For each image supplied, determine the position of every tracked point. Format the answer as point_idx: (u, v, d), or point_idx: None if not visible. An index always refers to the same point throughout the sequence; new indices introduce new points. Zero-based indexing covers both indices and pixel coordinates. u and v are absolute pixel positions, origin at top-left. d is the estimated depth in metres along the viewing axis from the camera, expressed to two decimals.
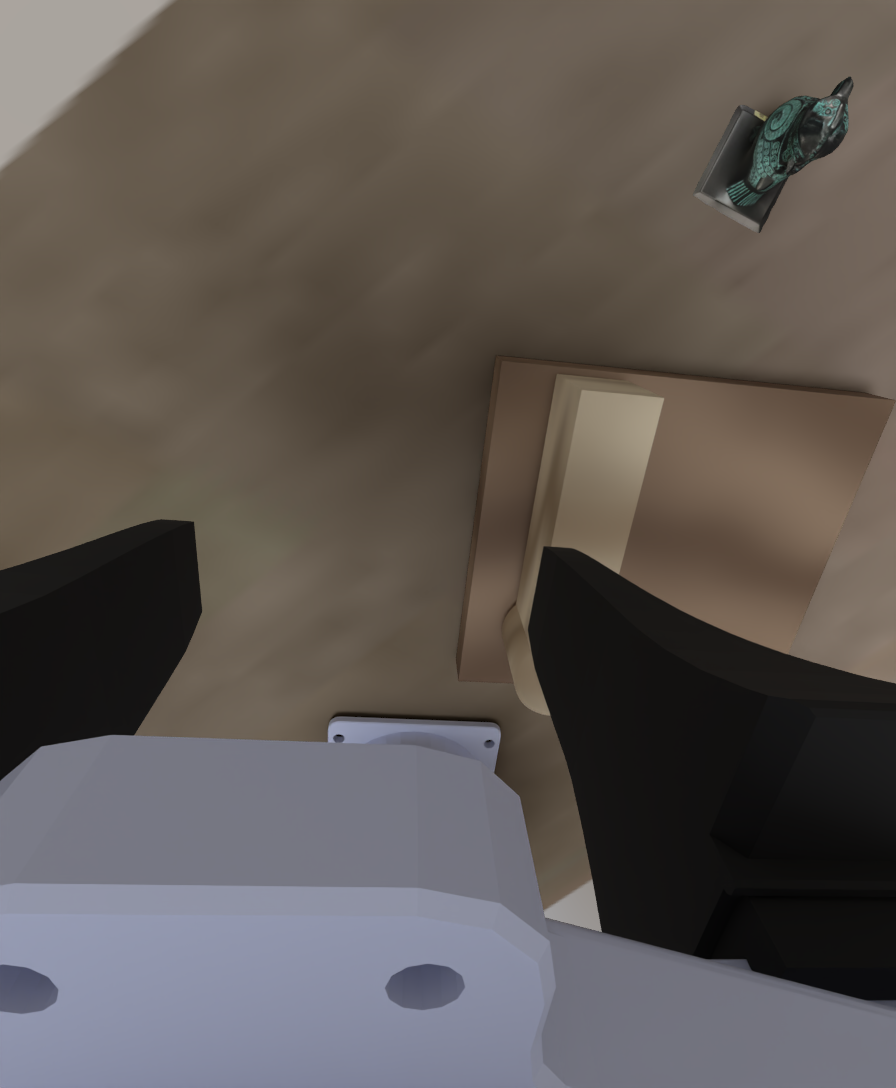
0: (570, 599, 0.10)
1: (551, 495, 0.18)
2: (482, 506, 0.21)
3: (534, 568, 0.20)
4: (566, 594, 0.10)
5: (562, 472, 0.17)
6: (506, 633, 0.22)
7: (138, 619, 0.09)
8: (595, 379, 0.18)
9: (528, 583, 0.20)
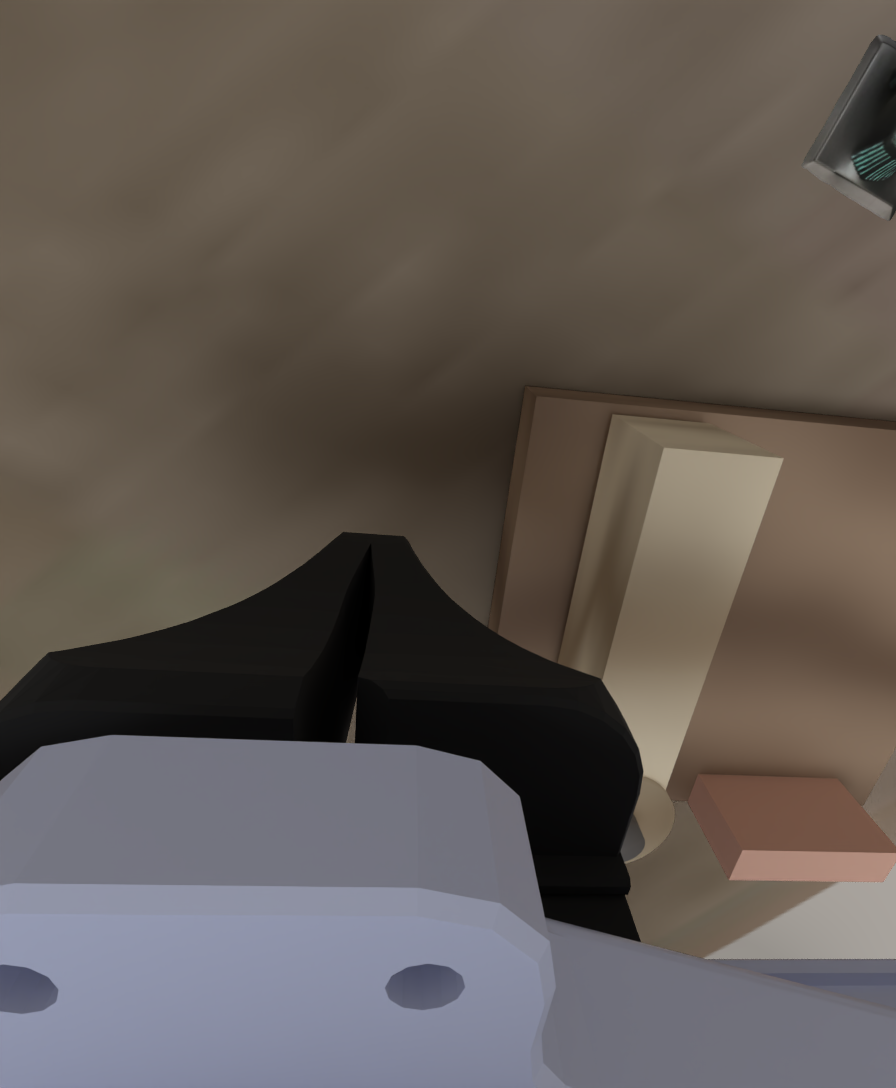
0: (371, 587, 0.09)
1: (607, 586, 0.13)
2: (506, 585, 0.16)
3: None
4: (370, 582, 0.10)
5: (627, 560, 0.12)
6: None
7: (355, 631, 0.09)
8: (667, 423, 0.13)
9: None
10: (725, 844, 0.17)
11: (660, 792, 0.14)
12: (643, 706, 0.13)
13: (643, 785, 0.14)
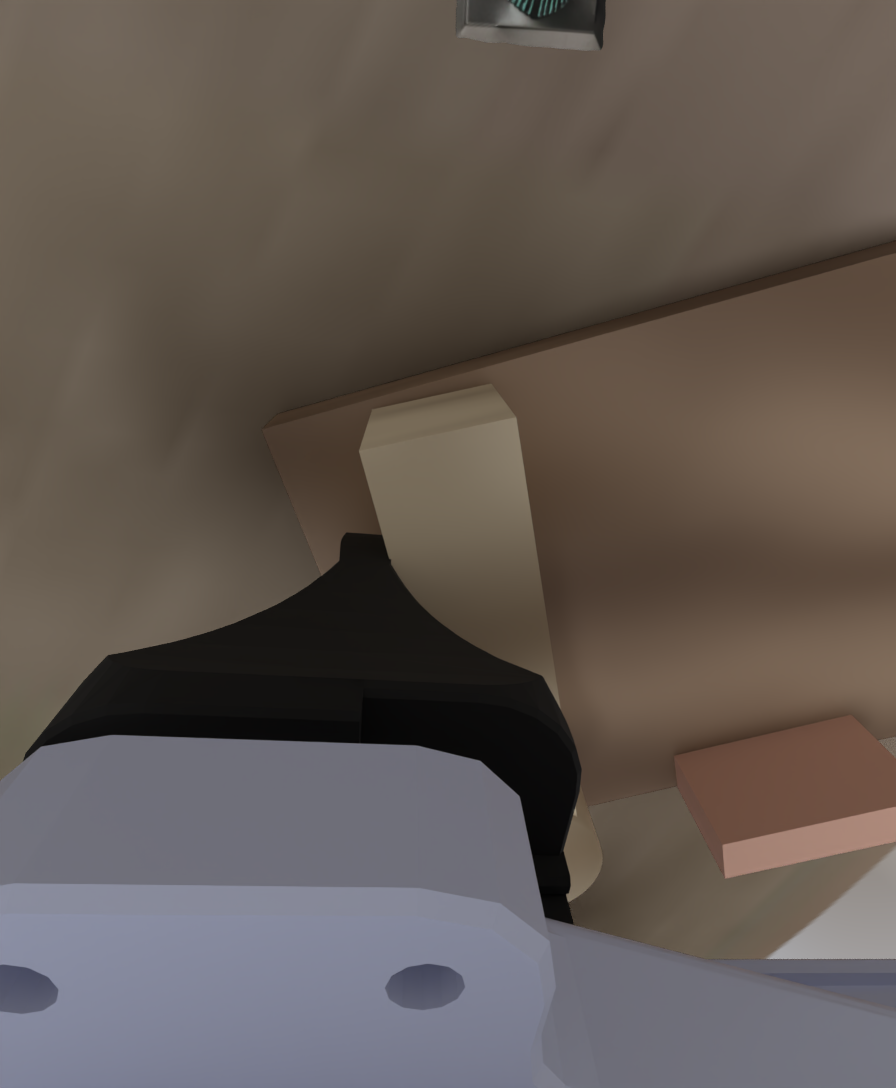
0: None
1: None
2: None
3: None
4: None
5: None
6: None
7: None
8: (429, 401, 0.11)
9: None
10: (711, 837, 0.14)
11: None
12: None
13: None
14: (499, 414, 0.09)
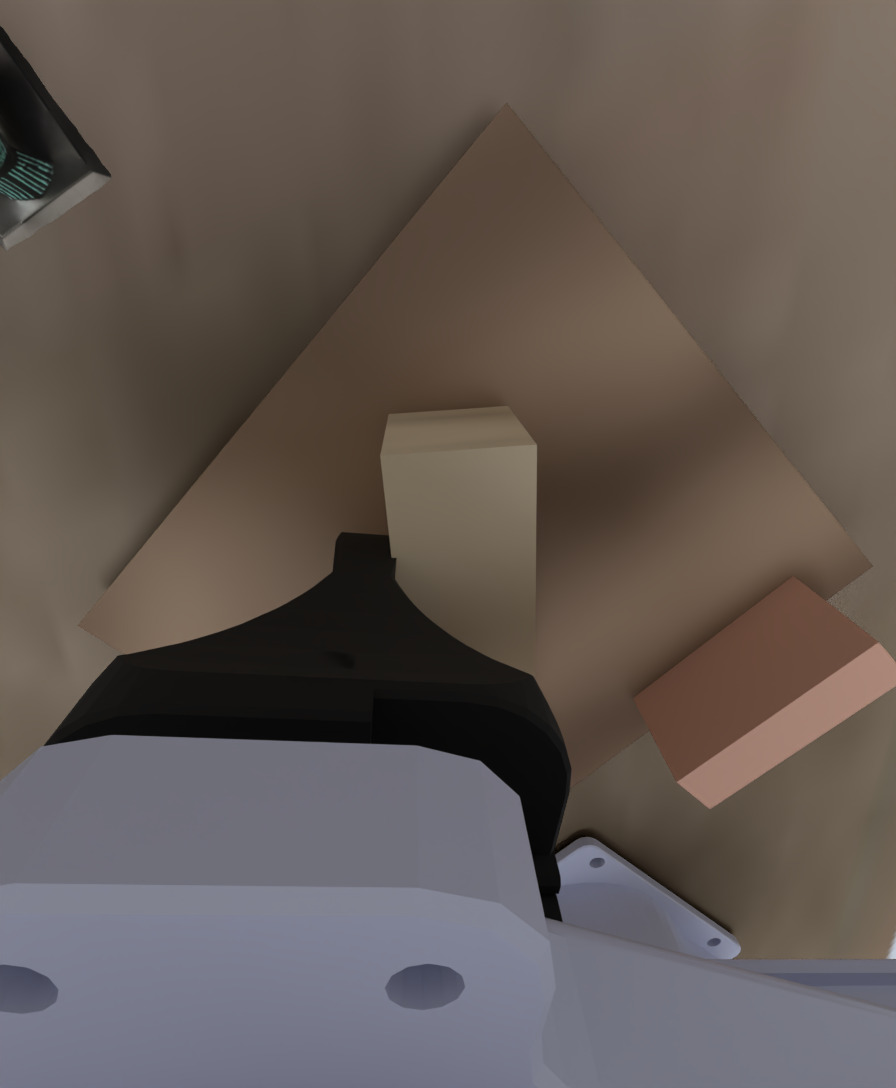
0: None
1: None
2: None
3: None
4: None
5: None
6: None
7: None
8: (447, 415, 0.11)
9: None
10: None
11: None
12: None
13: None
14: (519, 439, 0.09)
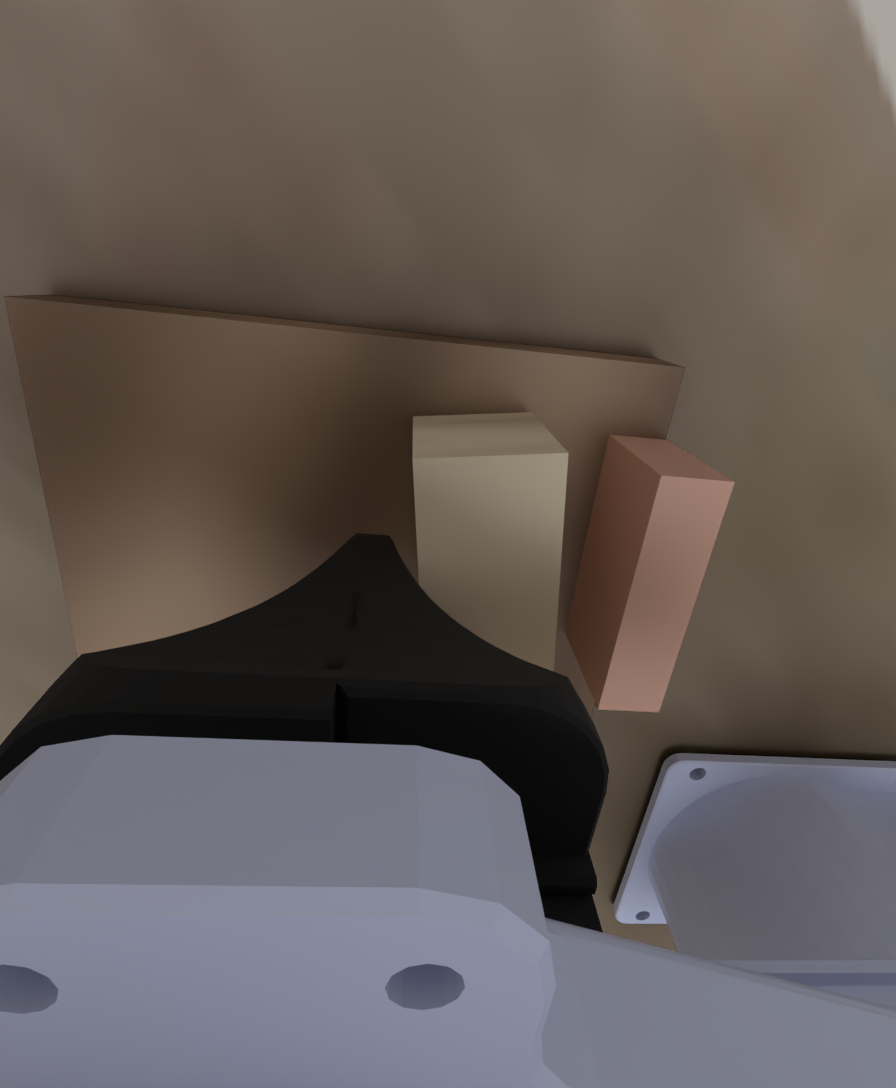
0: None
1: None
2: None
3: None
4: None
5: None
6: None
7: None
8: (472, 419, 0.11)
9: None
10: None
11: None
12: None
13: None
14: (550, 446, 0.09)
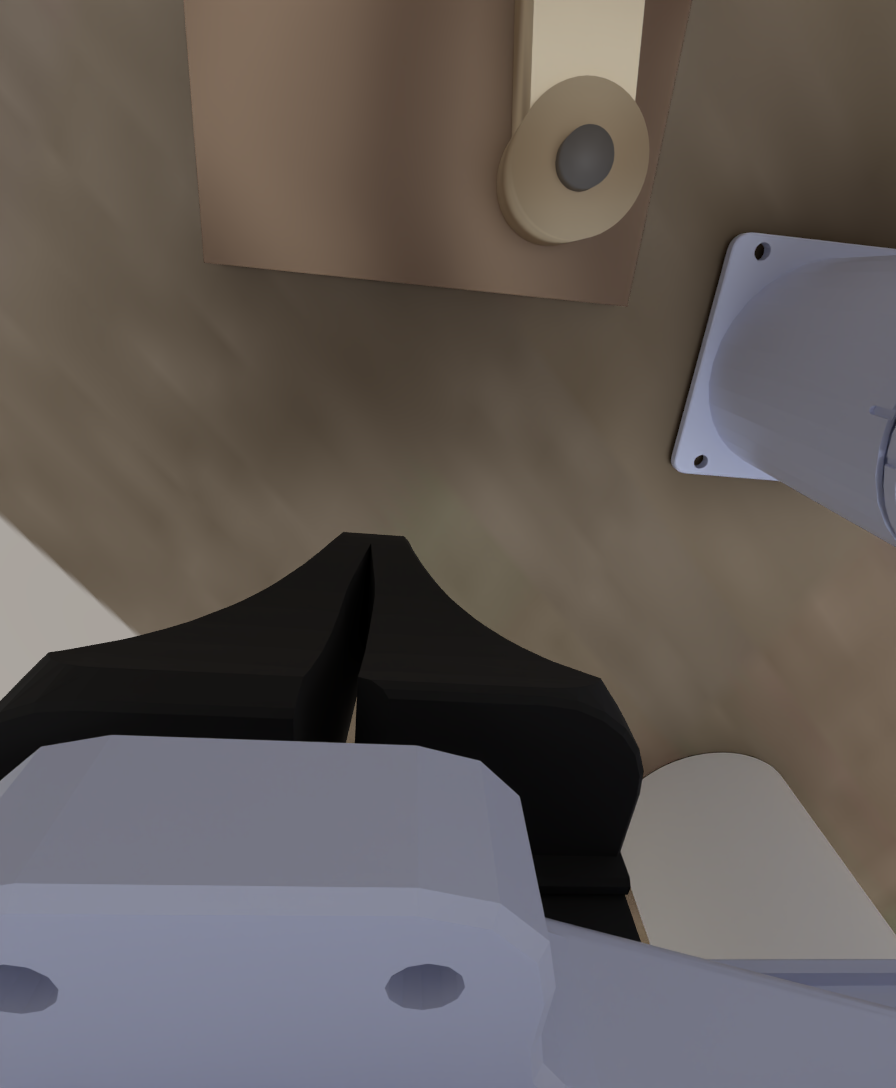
0: (371, 587, 0.09)
1: None
2: (376, 279, 0.17)
3: None
4: (370, 582, 0.10)
5: None
6: (500, 169, 0.15)
7: (355, 630, 0.09)
8: None
9: (520, 48, 0.14)
10: None
11: (627, 97, 0.13)
12: None
13: (606, 84, 0.13)
14: None
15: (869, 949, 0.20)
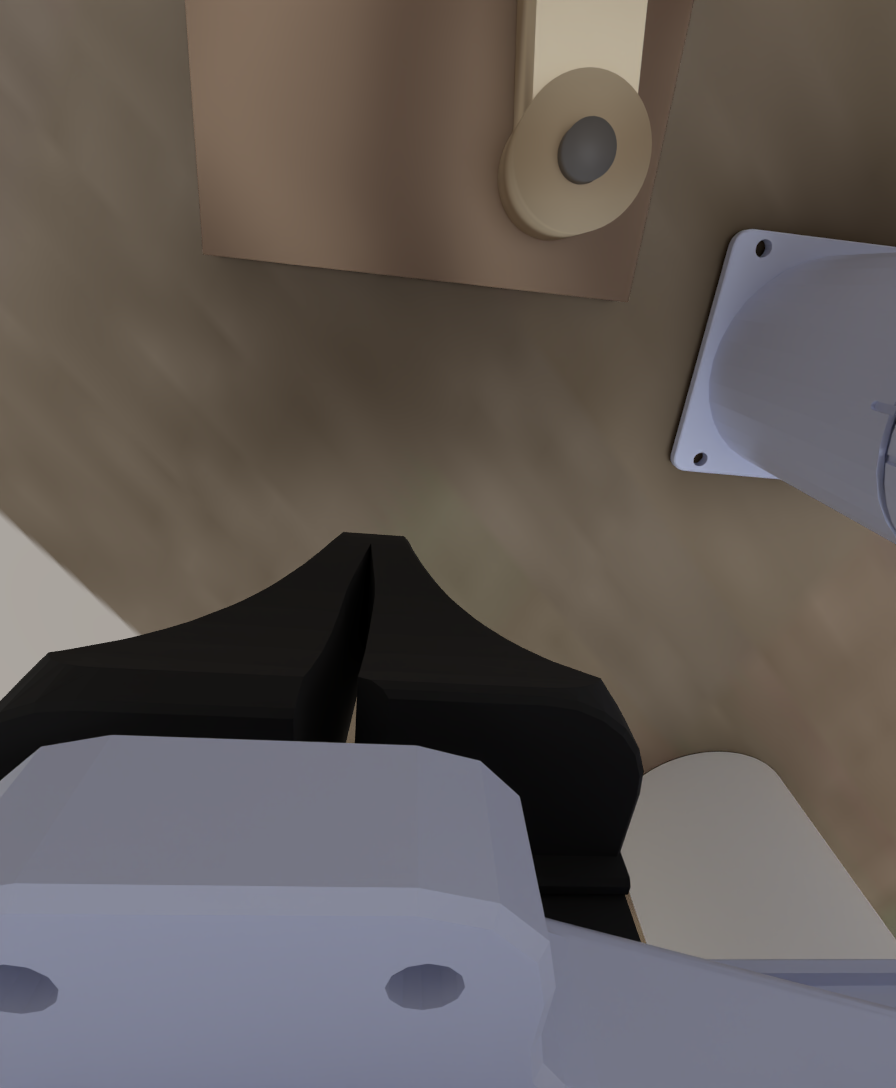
0: (371, 587, 0.09)
1: None
2: (377, 273, 0.17)
3: None
4: (370, 582, 0.10)
5: None
6: (502, 162, 0.15)
7: (355, 631, 0.09)
8: None
9: (522, 40, 0.14)
10: None
11: (630, 90, 0.13)
12: None
13: (608, 76, 0.13)
14: None
15: (865, 948, 0.20)
